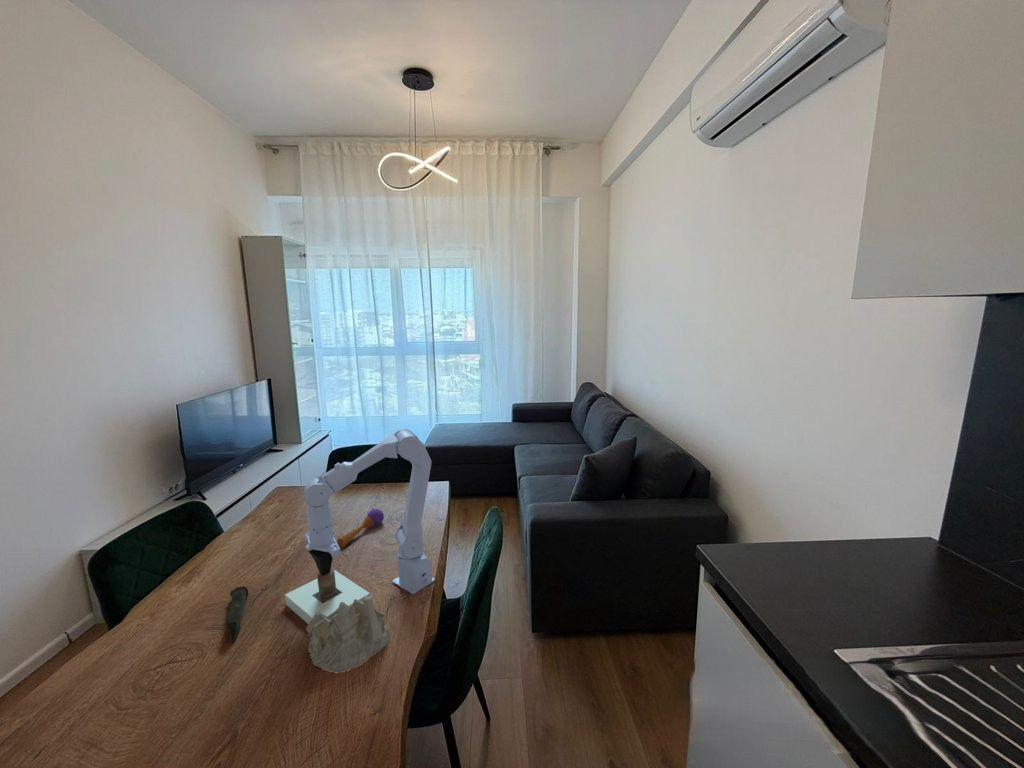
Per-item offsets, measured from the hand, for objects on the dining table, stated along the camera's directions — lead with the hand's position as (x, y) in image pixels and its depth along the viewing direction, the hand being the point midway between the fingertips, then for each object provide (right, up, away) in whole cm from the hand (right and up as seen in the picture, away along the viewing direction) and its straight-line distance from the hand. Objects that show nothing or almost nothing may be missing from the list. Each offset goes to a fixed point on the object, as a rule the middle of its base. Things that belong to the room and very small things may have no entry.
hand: (325, 573), depth 112 cm
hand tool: (-21, -11, -3) cm, 23 cm away
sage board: (0, -9, +1) cm, 9 cm away
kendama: (-4, -4, +40) cm, 40 cm away
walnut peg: (0, -9, +2) cm, 9 cm away
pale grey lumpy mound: (+12, -11, -13) cm, 21 cm away
